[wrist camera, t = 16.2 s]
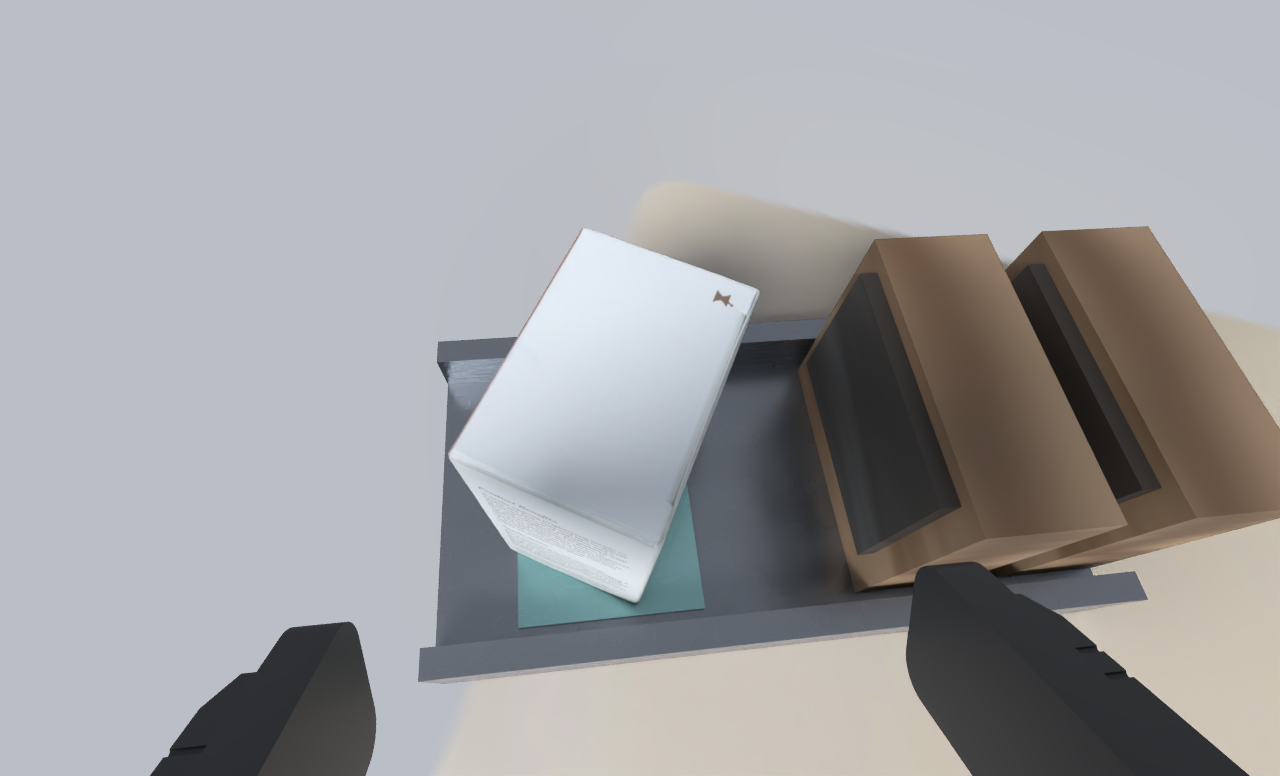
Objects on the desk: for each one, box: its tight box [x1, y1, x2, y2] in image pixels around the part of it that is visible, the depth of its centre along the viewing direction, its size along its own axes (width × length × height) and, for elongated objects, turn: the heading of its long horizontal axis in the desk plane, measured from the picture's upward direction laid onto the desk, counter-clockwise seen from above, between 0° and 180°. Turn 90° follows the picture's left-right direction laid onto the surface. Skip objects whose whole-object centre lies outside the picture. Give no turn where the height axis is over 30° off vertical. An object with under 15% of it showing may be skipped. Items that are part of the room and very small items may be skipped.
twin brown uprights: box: [797, 226, 1280, 593], centre depth 22 cm, size 11×10×9 cm
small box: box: [448, 228, 760, 604], centre depth 20 cm, size 8×6×10 cm
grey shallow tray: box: [418, 318, 1148, 684], centre depth 25 cm, size 26×13×4 cm, turn 96°
